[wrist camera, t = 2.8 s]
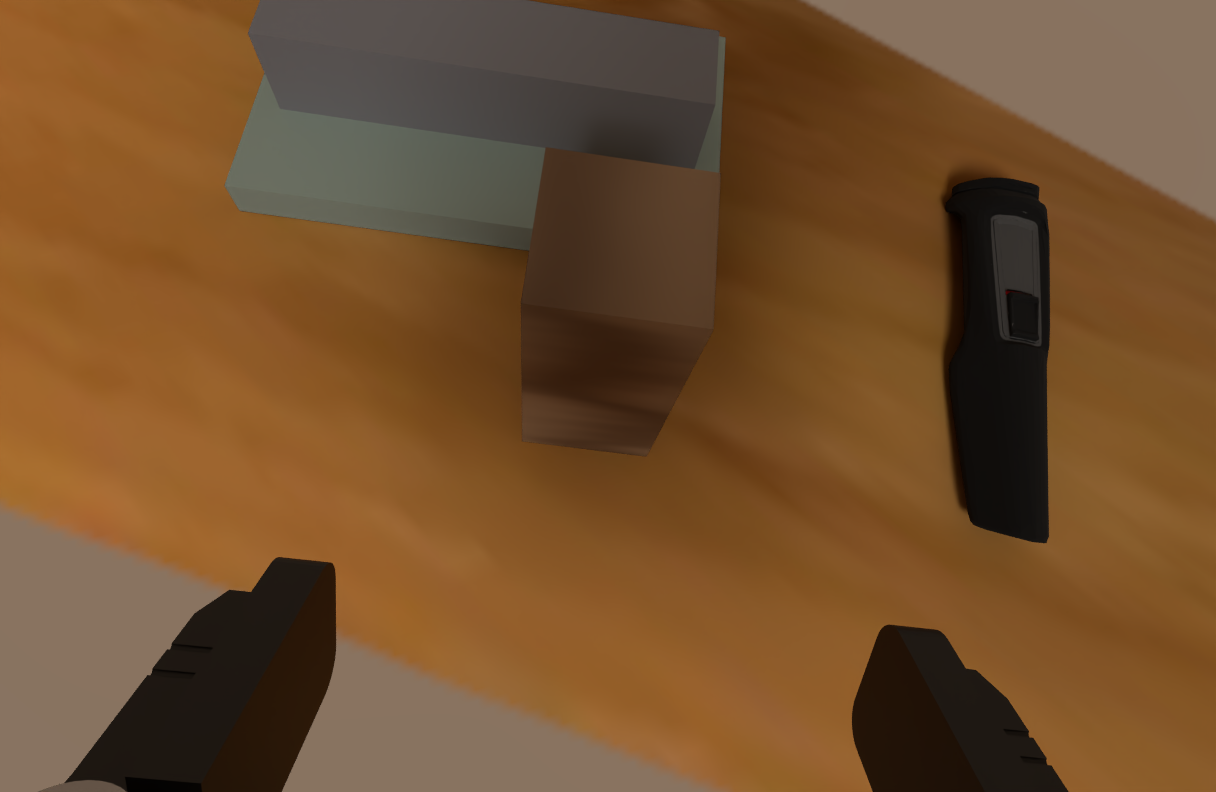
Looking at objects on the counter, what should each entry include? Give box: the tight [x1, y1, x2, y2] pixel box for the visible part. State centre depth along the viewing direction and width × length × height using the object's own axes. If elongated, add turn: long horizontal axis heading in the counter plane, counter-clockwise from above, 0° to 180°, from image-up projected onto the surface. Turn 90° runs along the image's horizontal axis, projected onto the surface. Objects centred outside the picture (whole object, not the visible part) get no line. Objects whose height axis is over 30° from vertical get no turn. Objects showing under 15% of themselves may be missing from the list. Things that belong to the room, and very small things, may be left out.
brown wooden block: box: [521, 147, 721, 456], centre depth 22 cm, size 4×4×10 cm
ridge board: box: [225, 0, 726, 251], centre depth 28 cm, size 18×11×5 cm, turn 85°
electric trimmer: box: [946, 178, 1050, 543], centre depth 28 cm, size 4×16×3 cm, turn 169°
